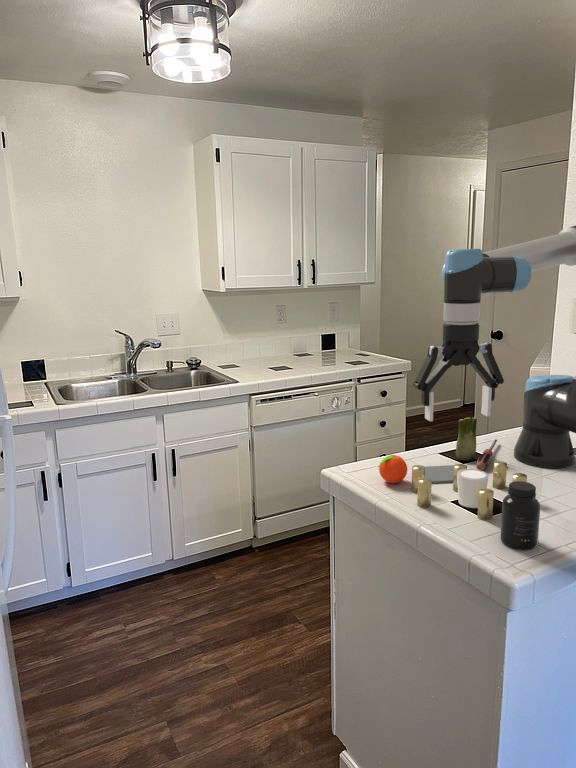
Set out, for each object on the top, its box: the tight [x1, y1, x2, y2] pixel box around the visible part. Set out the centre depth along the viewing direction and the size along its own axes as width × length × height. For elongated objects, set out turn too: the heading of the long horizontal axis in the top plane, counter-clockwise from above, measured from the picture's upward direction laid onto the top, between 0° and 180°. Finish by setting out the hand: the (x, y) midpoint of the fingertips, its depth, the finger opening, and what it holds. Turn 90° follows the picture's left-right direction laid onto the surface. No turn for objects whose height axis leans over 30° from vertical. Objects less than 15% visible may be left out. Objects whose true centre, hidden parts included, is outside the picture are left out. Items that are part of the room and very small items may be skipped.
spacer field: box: [411, 460, 528, 521], centre depth 131 cm, size 25×18×6 cm
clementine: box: [378, 454, 408, 484], centre depth 143 cm, size 8×7×7 cm
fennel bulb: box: [455, 417, 478, 462], centre depth 157 cm, size 6×5×12 cm
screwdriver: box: [475, 439, 498, 471], centre depth 160 cm, size 25×3×3 cm, turn 151°
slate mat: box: [424, 464, 455, 485], centre depth 148 cm, size 11×10×1 cm
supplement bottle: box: [500, 481, 541, 551], centre depth 112 cm, size 7×7×12 cm
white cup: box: [457, 468, 490, 509], centre depth 131 cm, size 7×7×7 cm
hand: (457, 417), depth 129 cm, fingers open, 13 cm apart
